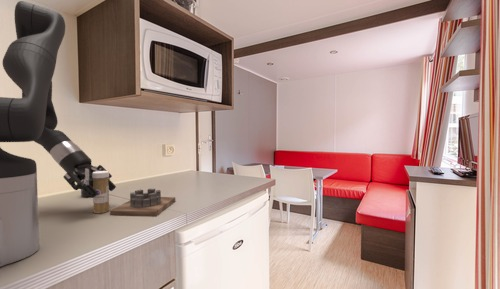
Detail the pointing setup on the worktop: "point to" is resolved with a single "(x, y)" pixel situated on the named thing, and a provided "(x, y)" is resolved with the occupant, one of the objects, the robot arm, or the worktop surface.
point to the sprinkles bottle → (101, 191)
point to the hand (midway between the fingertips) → (105, 192)
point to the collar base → (143, 210)
